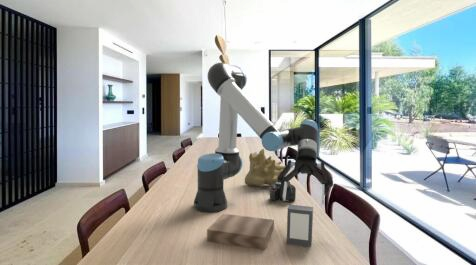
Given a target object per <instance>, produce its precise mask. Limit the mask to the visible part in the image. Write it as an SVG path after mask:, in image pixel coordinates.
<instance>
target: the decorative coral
mask: <svg viewBox="0 0 476 265" xmlns="http://www.w3.org/2000/svg"><path fill="white" fill-rule="evenodd" d="M248 160H249V171H248V172H247V173H246V174H245V177H244V184H245V185H246V186H248V187H256V186H257V187H262V186H264V185H268V186H269V187H270V186H271V185H272V184H275V183H278V180H277V177H278V176H279V175H280V173H281V172H282V171H283V169H284V168H285V167H286V166H287V165H281V164H282V161H278V162H276V160H275V159H272V156H270V155H269V157H266V155H265V148H263V149H261V150H259V151H258V153H257V151H255V152H253V153H252V152H250V154H249V157H248Z"/></svg>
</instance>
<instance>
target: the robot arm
mask: <svg viewBox="0 0 476 265" xmlns="http://www.w3.org/2000/svg"><path fill="white" fill-rule="evenodd" d="M207 81H208V84H209V85H210V87H211V88H212V90H213V91H214V92H215V93H216V94H217V95H218V96H219V97H220V99H219V100H220V103H219V127H218V147H216V148H215V149H214V153H213V152H212V153H206V154H203V155H200V157H198V160H197V165H196V167H197V191H196V193H195V197H194V200H193V209H194V210H197V211H198V212H205V213H214V212H215V213H216V212H221V211H224V210H226V209H227V208H228V200H227V197H226V193H225V190H224V183H225V182H224V180H226V179H230V178H233V177H235V176H237V175H238V174H239V173H240V172H241V170H242V168H243V160H242V157H241V156H240V150H239V149H238V148H237V138H238V137H237V136H238V134H237V133H238V115H239V117H241V118H242V120H243V121H244V122H245V123H246V124H247V125H248V126H249V127H250V128H251V129H252V131H253V132H254V133H255V134H256V135H257V136H258V137H259V139H261V140H260V141H261V144H262V147H263V149H264V150H266V151H268V152H276V151H277V152H278V151H279V150H281V149H284V148H287V147H294V146H297V151H296V152H297V153H296V154H297V155H296V160H295V161H292V160H291V159H290V160H287V164H286V165H285V166H286V167H285V168H284V169H283V171H282V172H281V173H280V175H279V176H278V177H277V180H278V183H281V191H283V201H282V202H286V201H285V199H286V191H287V182H288V181H289V182H290V180H292V179H293V178H294V177H295V176H297V175H299V174H302V175H304V174H306V175H310V174H311V175H312V176H313V177H315V178H316V179H317V181H318V182H320V184H321V205H325V196H328V190H329V187H331V188H333V187H334V181H333V179H332V178H331V176H330V173H329V172H328V170H327V169H326V166H325V162H324V161H322V162H320V163H317V152H318V150H317V149H318V136H319V135H318V134H319V131H318V130H319V129H318V124H317V122H316V121H314V120H312V119H304V120H303V121H301V122H300V124H299V126H296V127H293V128H292V127H291V128H286V129H278V128H277V127H276V126H275V125H274V124H273V123H272V122H271V121H270V119H268V117H266V115H265V114H264V113H263V112H262V111H261V110H260V109H259V108H258V107H257V105H256V104H255V103H254V102H253V101H252V100H251V99H250V98H249V97H248V96H247V95H246V94H245V93H244V91H243V89H244V88H245V86H246V85H247V81H248V80H247V74H246V72H245V70H244V69H242V67H239V66H237V65H233V64H229V63H225V62H217V63H214V64H213V65H212V66H210V67H209V69H208V71H207ZM293 167H294V168H293ZM292 168H293V170H291V169H292ZM317 168H318V169H319V170H321V173H322V175H321V174H320V172H319V171H318V170H317ZM290 170H291V171H290Z"/></svg>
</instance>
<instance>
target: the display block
mask: <svg viewBox="0 0 476 265" xmlns="http://www.w3.org/2000/svg"><path fill="white" fill-rule="evenodd" d="M274 231H275V219H272V218H271V219H270V218H262V217H255V216H245V215H237V214H230V213H229V214H228V213H221V215H220V216H219V217H218V218H217V219H216V220H215V221H214V222H213V223H212V224H211V225H210V226H209V227H208V228H207V229H206V241H207V242H212V243H220V244H226V245H231V246H232V245H233V246H237V247H245V248H250V249H251V248H252V249H258V250H259V249H260V250H266V248H267V246H268V244H269V242H270V240H271V237H272V235H273V233H274Z"/></svg>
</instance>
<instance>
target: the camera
mask: <svg viewBox="0 0 476 265" xmlns="http://www.w3.org/2000/svg"><path fill="white" fill-rule="evenodd" d="M291 183H292V182H290V181H288V182H287V191H286V199H285V201H283V191H281V183H275V184H272V185H271V186H270V185H269V201H271V202H273V203H275V202H277V201H281V202H294V201H296V195H297V194H296V190H297V189H296V186H295V185H293V184H291Z"/></svg>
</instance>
